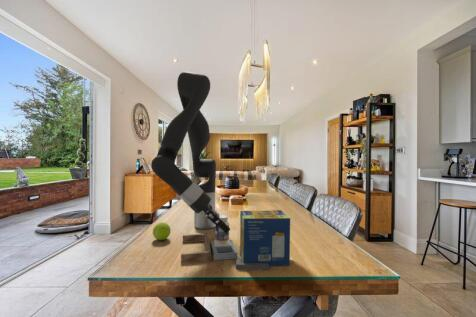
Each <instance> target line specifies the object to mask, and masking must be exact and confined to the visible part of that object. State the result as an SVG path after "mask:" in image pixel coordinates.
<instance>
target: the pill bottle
mask: <svg viewBox="0 0 476 317" xmlns="http://www.w3.org/2000/svg"><path fill="white" fill-rule="evenodd" d="M219 215H220V218H221V220H223V222H224V223H225V224H226V225H227V226H228V227H229V228H230V223H229V222H228V220H229V219H228V218H229V216H228V215H226V214H225V215H224V214H222V215H221V214H219ZM218 222H219V220H217V223H218ZM214 229H215V230H214V241H217V242H227V241H228V240H230V231H229V232H228V233H225V232H224V231H223V230H222V229H221V228H220V227H217V226H216V225H215V227H214Z"/></svg>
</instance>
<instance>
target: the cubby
mask: <svg viewBox="0 0 476 317" xmlns="http://www.w3.org/2000/svg"><path fill="white" fill-rule="evenodd" d="M190 242H191V243H194V242H195V243H196V242H203V243H204V250H205V251H204V250H203V251H193V252H192V251H191V252H181V253H180V263H192V262H193V263H194V262H204V261H205V262H206V261H207V262H208V261H212V249H211V244H210V242H209V237H208V233H192V234H191V233H190V234H182V243H190Z"/></svg>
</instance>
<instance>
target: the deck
mask: <svg viewBox="0 0 476 317" xmlns="http://www.w3.org/2000/svg"><path fill="white" fill-rule="evenodd" d="M210 250H211V254H212V257H213V260H214V261H218V260H219V261H220V260H230V259H231V260H233V259H234V260H235V259H237V258H239V257H238V255H239V254H238V253H239V252H238V250H237V249H236V246H235V244H234V242H233V240H232V239H229V240H228V241H227V242H217V241H216V240H211V241H210Z"/></svg>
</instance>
